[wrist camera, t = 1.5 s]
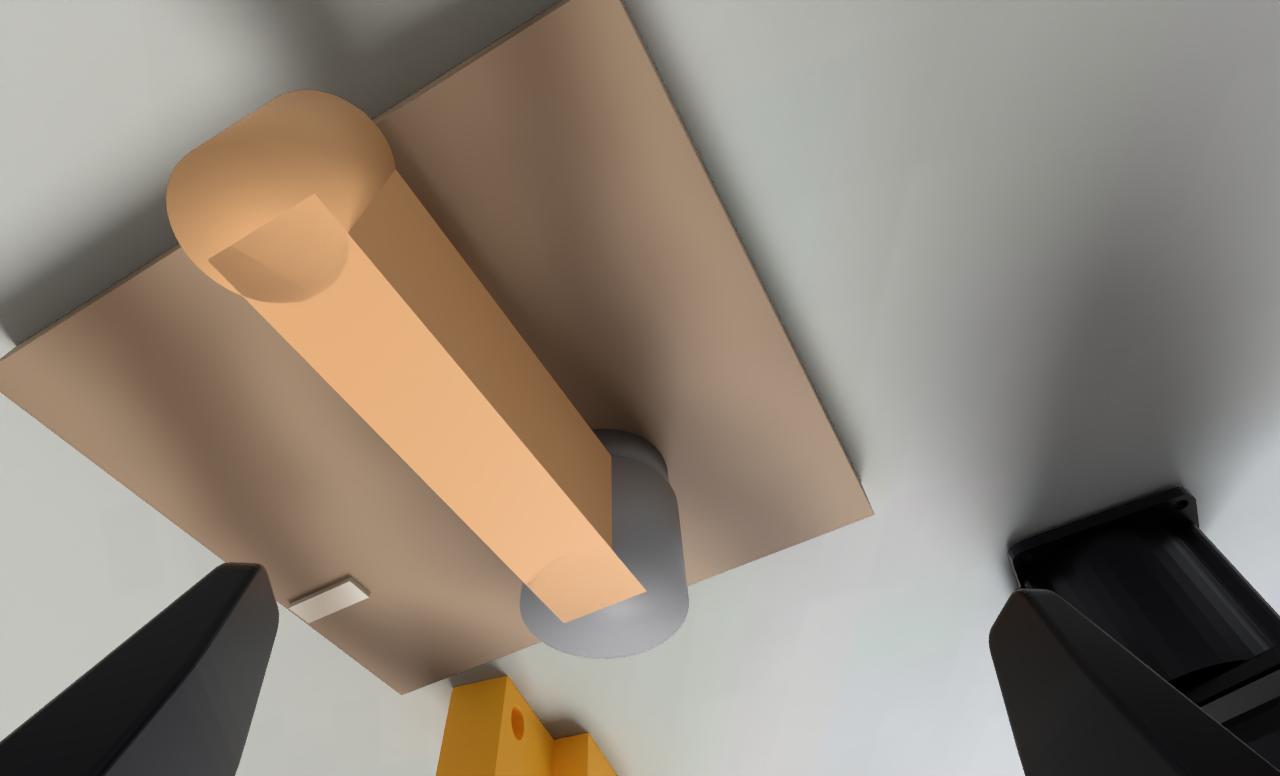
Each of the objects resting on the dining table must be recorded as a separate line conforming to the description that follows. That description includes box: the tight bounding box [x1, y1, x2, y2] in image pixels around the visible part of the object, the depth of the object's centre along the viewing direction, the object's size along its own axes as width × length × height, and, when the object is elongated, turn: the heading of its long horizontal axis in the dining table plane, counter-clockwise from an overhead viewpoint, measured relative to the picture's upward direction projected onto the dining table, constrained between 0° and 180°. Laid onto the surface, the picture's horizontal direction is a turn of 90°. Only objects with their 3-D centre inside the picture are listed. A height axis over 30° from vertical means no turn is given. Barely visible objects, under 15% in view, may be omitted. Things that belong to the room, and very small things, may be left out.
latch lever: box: [166, 90, 689, 659], centre depth 17 cm, size 16×4×4 cm, turn 28°
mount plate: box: [0, 0, 874, 695], centre depth 22 cm, size 20×18×3 cm
